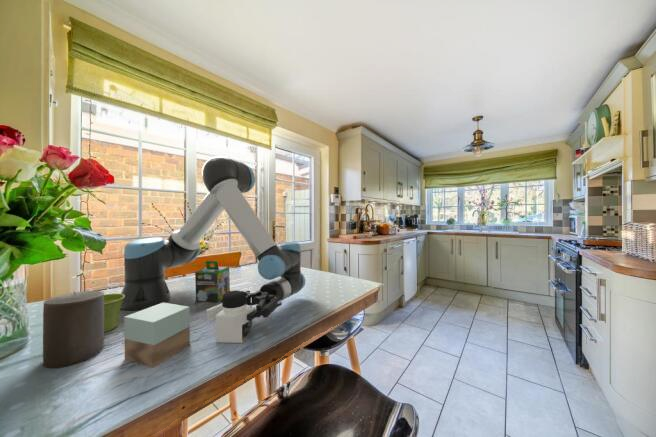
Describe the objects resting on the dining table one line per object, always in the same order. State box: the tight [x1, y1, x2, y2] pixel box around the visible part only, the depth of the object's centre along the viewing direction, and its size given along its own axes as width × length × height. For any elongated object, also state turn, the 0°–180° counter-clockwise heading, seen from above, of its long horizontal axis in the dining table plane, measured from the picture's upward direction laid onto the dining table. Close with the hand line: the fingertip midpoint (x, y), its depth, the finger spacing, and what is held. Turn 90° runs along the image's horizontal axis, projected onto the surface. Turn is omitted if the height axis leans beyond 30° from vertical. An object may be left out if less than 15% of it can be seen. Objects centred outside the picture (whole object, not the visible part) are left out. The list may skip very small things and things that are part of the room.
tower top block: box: [123, 302, 191, 345], centre depth 56 cm, size 9×9×5 cm
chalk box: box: [194, 260, 231, 303], centre depth 92 cm, size 9×9×15 cm
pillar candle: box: [42, 290, 105, 369], centre depth 55 cm, size 10×10×15 cm
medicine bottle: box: [214, 289, 253, 344], centre depth 64 cm, size 7×7×12 cm
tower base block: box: [124, 327, 191, 368], centre depth 56 cm, size 9×9×5 cm
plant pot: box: [104, 293, 125, 333], centre depth 67 cm, size 9×9×9 cm
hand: (220, 318), depth 59 cm, fingers closed on medicine bottle, 9 cm apart
